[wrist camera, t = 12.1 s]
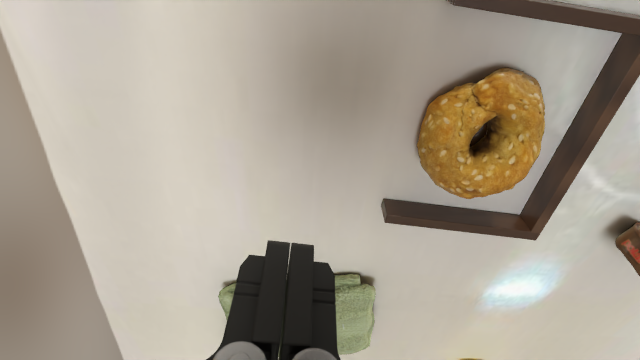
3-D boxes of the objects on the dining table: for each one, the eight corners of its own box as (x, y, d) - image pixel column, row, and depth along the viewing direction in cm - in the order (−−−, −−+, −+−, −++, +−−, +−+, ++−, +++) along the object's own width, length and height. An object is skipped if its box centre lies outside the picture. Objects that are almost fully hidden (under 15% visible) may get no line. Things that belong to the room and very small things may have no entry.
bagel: (566, 102, 32) (601, 128, 28) (471, 193, 37) (489, 226, 33) (479, 36, 29) (504, 55, 25) (389, 145, 34) (398, 174, 30)
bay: (447, -17, 27) (458, -12, 25) (645, 16, 28) (671, 24, 26) (381, 206, 38) (384, 223, 36) (524, 223, 39) (536, 240, 37)
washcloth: (372, 338, 50) (374, 362, 48) (238, 342, 51) (233, 366, 48) (374, 269, 43) (377, 292, 40) (218, 274, 44) (211, 298, 41)
